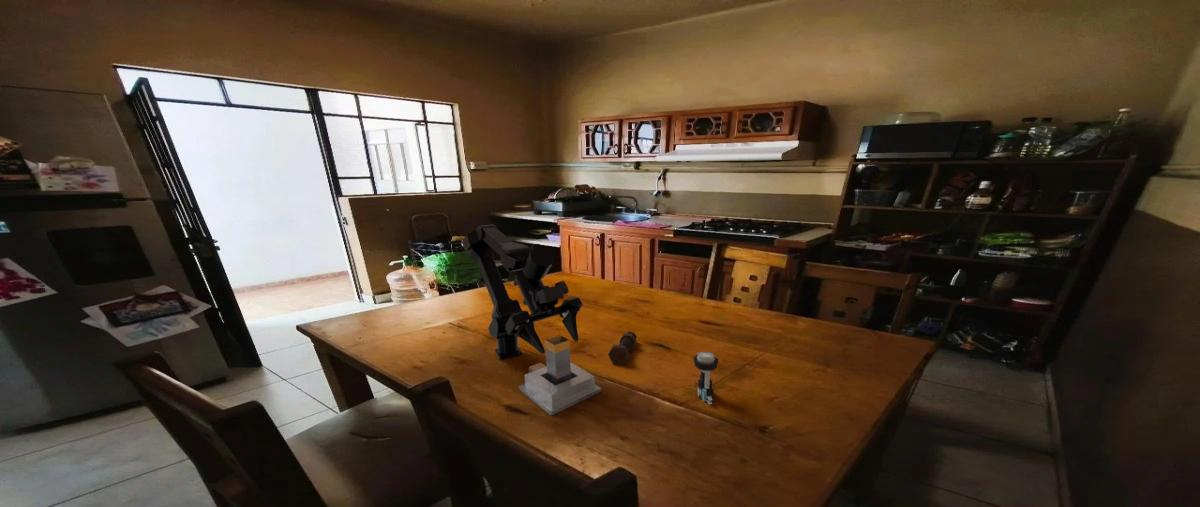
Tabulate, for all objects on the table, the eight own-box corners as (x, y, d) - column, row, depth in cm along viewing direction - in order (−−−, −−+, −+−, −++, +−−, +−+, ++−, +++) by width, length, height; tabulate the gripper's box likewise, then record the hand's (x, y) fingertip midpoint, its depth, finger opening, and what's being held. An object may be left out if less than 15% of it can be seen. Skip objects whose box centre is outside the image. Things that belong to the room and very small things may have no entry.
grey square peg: (547, 387, 90) (544, 339, 88) (562, 381, 93) (559, 334, 91) (557, 394, 87) (554, 345, 85) (571, 387, 90) (569, 340, 87)
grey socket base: (510, 382, 95) (509, 368, 94) (557, 363, 103) (556, 350, 103) (550, 415, 81) (550, 399, 80) (601, 391, 89) (601, 376, 89)
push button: (722, 406, 83) (724, 363, 81) (697, 406, 83) (698, 364, 81) (712, 389, 89) (714, 349, 87) (690, 390, 89) (691, 350, 87)
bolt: (634, 347, 116) (620, 369, 102) (620, 338, 117) (605, 358, 103) (643, 333, 114) (631, 353, 100) (629, 323, 115) (615, 342, 101)
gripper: (507, 279, 82) (536, 343, 76) (577, 265, 94) (607, 319, 87) (494, 305, 89) (520, 365, 83) (560, 289, 101) (587, 341, 95)
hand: (560, 346), depth 87 cm, fingers open, 9 cm apart
